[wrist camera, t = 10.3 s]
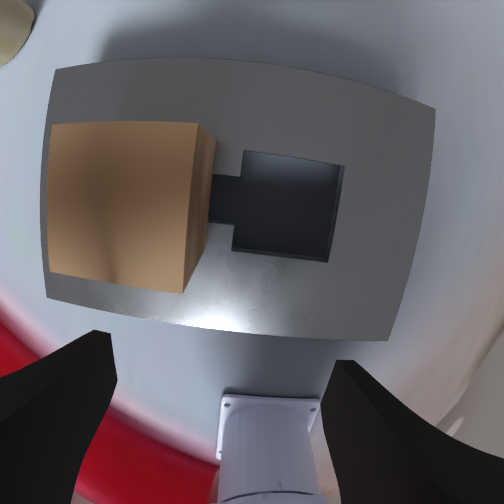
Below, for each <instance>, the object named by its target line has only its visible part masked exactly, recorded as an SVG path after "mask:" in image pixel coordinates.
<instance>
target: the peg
mask: <svg viewBox="0 0 504 504" xmlns="http://www.w3.org/2000/svg"><path fill="white" fill-rule="evenodd" d="M216 144H217V139H216V138H215V137H214V136H212V135H211V134H210V133H209V132H208V131H207V130H205V129H204V128H203V127H202V126H201V125H200V124H198V123H186V122H164V121H103V122H81V123H66V124H55V125H52V129H51V138H50V147H49V159H48V174H47V240H48V256H49V267H50V272H55V273H60V274H65V275H70V276H75V277H80V278H86V279H91V280H97V281H102V282H108V283H114V284H119V285H125V286H132V287H138V288H144V289H150V290H157V291H164V292H170V293H177V294H183V293H184V291H185V289H186V286H187V284H188V282H189V280H190V278H191V276H192V274H193V272H194V270H195V268H196V266H197V264H198V262H199V260H200V259H201V257H202V255H203V253H204V251H205V244H206V233H207V223H208V213H209V203H210V194H211V185H212V176H213V168H214V160H215V152H216Z"/></svg>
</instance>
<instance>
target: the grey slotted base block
mask: <svg viewBox="0 0 504 504" xmlns="http://www.w3.org/2000/svg"><path fill="white" fill-rule="evenodd" d="M435 111H436V109H434V108H432V107H429V106H427V105H424V104H422V103H419V102H417V101H414V100H411V99H409V98H406V97H403V96H400V95H398V94H395V93H392V92H389V91H386V90H382V89H379V88H376V87H373V86H369V85H366V84H363V83H359V82H355V81H352V80H348V79H344V78H340V77H336V76H332V75H327V74H323V73H318V72H313V71H308V70H303V69H298V68H292V67H286V66H280V65H273V64H266V63H258V62H249V61H239V60H227V59H211V58H144V59H128V60H117V61H107V62H99V63H91V64H84V65H78V66H72V67H66V68H61V69H56V70H55V74H54V79H53V83H52V88H51V93H50V99H49V104H48V110H47V117H46V124H45V131H44V140H43V150H42V163H41V181H40V229H41V247H42V260H43V270H44V279H45V287H46V294H47V298H50V299H54V300H58V301H63V302H67V303H71V304H75V305H80V306H84V307H88V308H93V309H98V310H102V311H107V312H112V313H117V314H122V315H128V316H133V317H138V318H144V319H150V320H156V321H162V322H168V323H174V324H181V325H187V326H194V327H202V328H209V329H217V330H225V331H234V332H243V333H252V334H262V335H273V336H285V337H299V338H314V339H333V340H360V341H388V338H389V335H390V333H391V330H392V327H393V324H394V321H395V318H396V315H397V312H398V309H399V306H400V303H401V300H402V296H403V293H404V290H405V286H406V283H407V279H408V276H409V272H410V268H411V265H412V261H413V257H414V253H415V249H416V244H417V240H418V236H419V231H420V226H421V221H422V216H423V211H424V206H425V200H426V194H427V188H428V182H429V175H430V167H431V159H432V150H433V140H434V127H435ZM103 121H164V122H186V123H198V124H200V125H201V126H202V127H203V128H204V129H205V130H207V131H208V132H209V133H210V134H211V135H212V136H214V137H215V138H216V139H217V144H216V152H215V160H214V168H213V174H221V175H230V176H239V177H240V176H241V168H242V160H243V153H244V151H250V152H258V153H265V154H273V155H279V156H286V157H292V158H299V159H305V160H310V161H316V162H322V163H327V164H332V165H337V166H340V169H339V176H338V183H337V189H336V195H335V201H334V207H333V213H332V219H331V225H330V230H329V236H328V241H327V246H326V251H325V256H324V258H321V257H313V256H305V255H296V254H288V253H280V252H272V251H263V250H255V249H247V248H239V247H232V242H233V233H234V225H235V222H228V221H219V220H211V219H208V223H207V233H206V244H205V251H204V253H203V255H202V257H201V259H200V260H199V262H198V264H197V266H196V268H195V270H194V272H193V274H192V276H191V278H190V280H189V282H188V284H187V286H186V289H185V291H184V293H183V294H177V293H170V292H164V291H157V290H150V289H144V288H138V287H132V286H125V285H119V284H114V283H108V282H102V281H97V280H91V279H86V278H80V277H75V276H70V275H65V274H60V273H55V272H50V267H49V256H48V240H47V174H48V159H49V147H50V138H51V129H52V125H55V124H66V123H81V122H103Z"/></svg>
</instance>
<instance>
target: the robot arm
mask: <svg viewBox="0 0 504 504" xmlns="http://www.w3.org/2000/svg"><path fill="white" fill-rule="evenodd" d="M117 381H118V380H117V374H116V368H115V362H114V355H113V348H112V341H111V333H106V332H102V331H98V330H93V331H91V332H89V333H87V334H85V335H83V336H81V337H79V338H78V339H76V340H74V341H72V342H71V343H69V344H67V345H65V346H64V347H62V348H60V349H58V350H56V351H55V352H53V353H51V354H49V355H48V356H46V357H44V358H42V359H40V360H38V361H36V362H34V363H32V364H30V365H28V366H26V367H24V368H22V369H20V370H17V371H15V372H13V373H10V374H8V375H5V376H3V377H0V504H71V499H72V495H73V491H74V487H75V483H76V480H77V476H78V473H79V470H80V466H81V463H82V461H83V458H84V456H85V454H86V451H87V449H88V447H89V445H90V443H91V441H92V439H93V437H94V435H95V433H96V431H97V429H98V427H99V425H100V423H101V421H102V419H103V417H104V415H105V413H106V411H107V409H108V407H109V404H110V402H111V399H112V396H113V393H114V390H115V387H116V384H117ZM225 403H229V404H225ZM320 406H321V415H322V422H323V430H324V434H325V437H326V441H327V445H328V448H329V452H330V456H331V459H332V463H333V467H334V470H335V474H336V478H337V481H338V486H339V490H340V497H341V504H504V458H501V457H497V456H494V455H491V454H488V453H485V452H483V451H480V450H478V449H475V448H473V447H471V446H469V445H466V444H464V443H462V442H460V441H458V440H456V439H454V438H452V437H451V436H449V435H447V434H445V433H444V432H442V431H440V430H439V429H437V428H436V427H434V426H432V425H431V424H429V423H428V422H426V421H425V420H424V419H422V418H421V417H420V416H418V415H417V414H416V413H414V412H413V411H412V410H410V409H409V408H408V407H407V406H405V405H404V404H403V403H402V402H400V401H399V400H398V399H397V398H396V397H395V396H393V395H392V394H391V393H390V392H389V391H388V390H387V389H386V388H384V387H383V386H382V385H381V384H380V383H379V382H378V381H377V380H376V379H375V378H373V377H372V376H371V375H370V374H369V373H368V372H367V371H366V370H365V369H364V368H362V367H361V366H360V365H359V364H358V363H357V362H355V361H354V360H336V363H335V366H334V368H333V371H332V374H331V377H330V380H329V382H328V385H327V388H326V390H325V393H324V396H323V398H322V401H321V403H320V401H319V400H318V399H296V398H273V397H257V396H245V395H234V394H224V395H223V396H222V398H221V408H220V418H219V428H218V439H217V449H216V458H217V459H220V460H221V463H220V476H219V489H218V503H217V504H327V503H326V498H325V494H321V492H320V487H319V482H318V477H317V472H316V467H315V462H314V457H313V452H312V447H311V442H310V437H309V433H310V430H311V428H312V425H313V423H314V420H315V418H316V415H317V413H318V410H319V408H320ZM311 408H313V409H311Z"/></svg>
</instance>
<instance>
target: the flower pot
mask: <svg viewBox="0 0 504 504" xmlns="http://www.w3.org/2000/svg"><path fill="white" fill-rule="evenodd" d="M34 18H35V14H34V10H33V8H32V7H31V6H29V5H28V4H27V3H26V2H25V1H24V0H0V66H1V65H3V64H6V63H8V62H9V61H10V60H11V59H12V58H13V57H14V56H15V55H16V54H17V53H18V51H19V50H20V49H21V47H22V46H23V44H24V43H25V41H26V40H27V38H28V36H29V34H30V32H31V25H32V22H33V20H34Z"/></svg>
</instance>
